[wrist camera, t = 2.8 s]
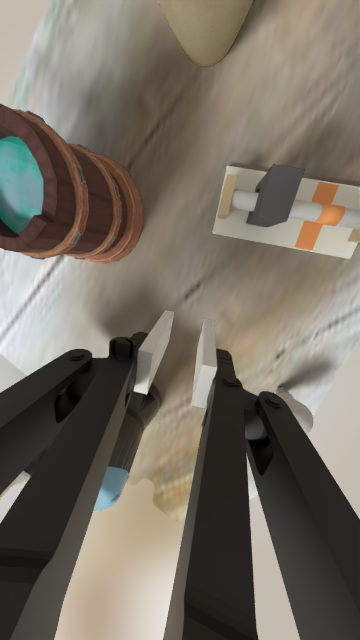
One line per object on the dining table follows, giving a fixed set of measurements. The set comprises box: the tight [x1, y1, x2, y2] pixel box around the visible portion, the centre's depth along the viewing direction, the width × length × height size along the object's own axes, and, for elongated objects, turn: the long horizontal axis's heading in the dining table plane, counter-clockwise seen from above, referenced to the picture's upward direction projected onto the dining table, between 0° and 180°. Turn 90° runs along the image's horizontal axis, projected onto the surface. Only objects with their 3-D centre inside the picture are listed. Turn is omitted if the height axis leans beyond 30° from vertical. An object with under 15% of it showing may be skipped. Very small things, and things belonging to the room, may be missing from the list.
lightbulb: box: [276, 387, 313, 434], centre depth 40 cm, size 6×6×11 cm
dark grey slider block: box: [246, 164, 305, 228], centre depth 27 cm, size 4×5×9 cm, turn 170°
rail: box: [212, 166, 360, 259], centre depth 30 cm, size 24×10×6 cm, turn 80°
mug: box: [0, 104, 143, 264], centre depth 28 cm, size 18×23×20 cm
